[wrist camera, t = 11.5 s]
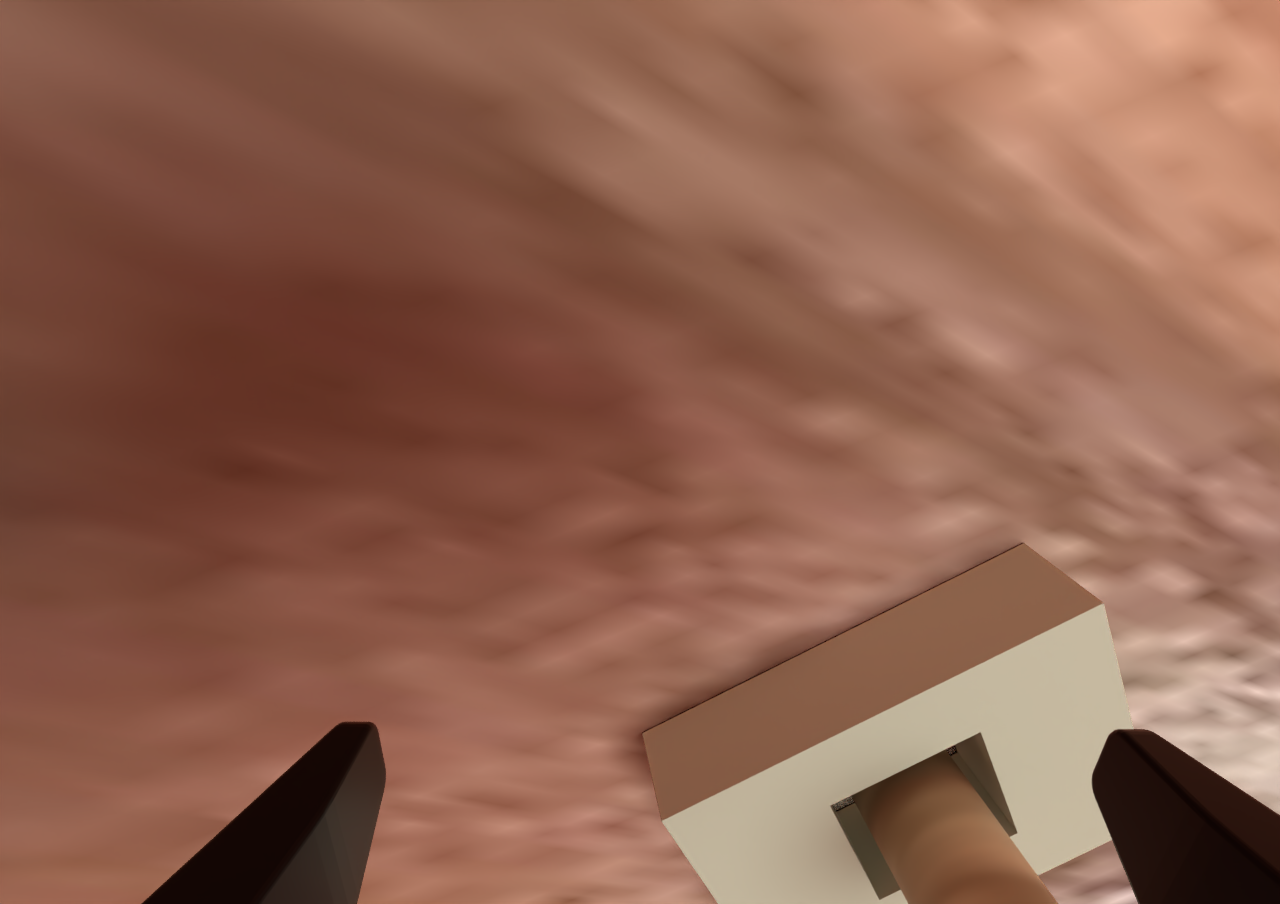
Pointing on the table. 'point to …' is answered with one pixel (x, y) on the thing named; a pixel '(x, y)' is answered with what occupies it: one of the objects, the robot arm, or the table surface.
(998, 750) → the socket block
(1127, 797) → the robot arm
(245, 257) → the table surface
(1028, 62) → the table surface
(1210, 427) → the table surface
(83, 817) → the table surface
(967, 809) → the peg
